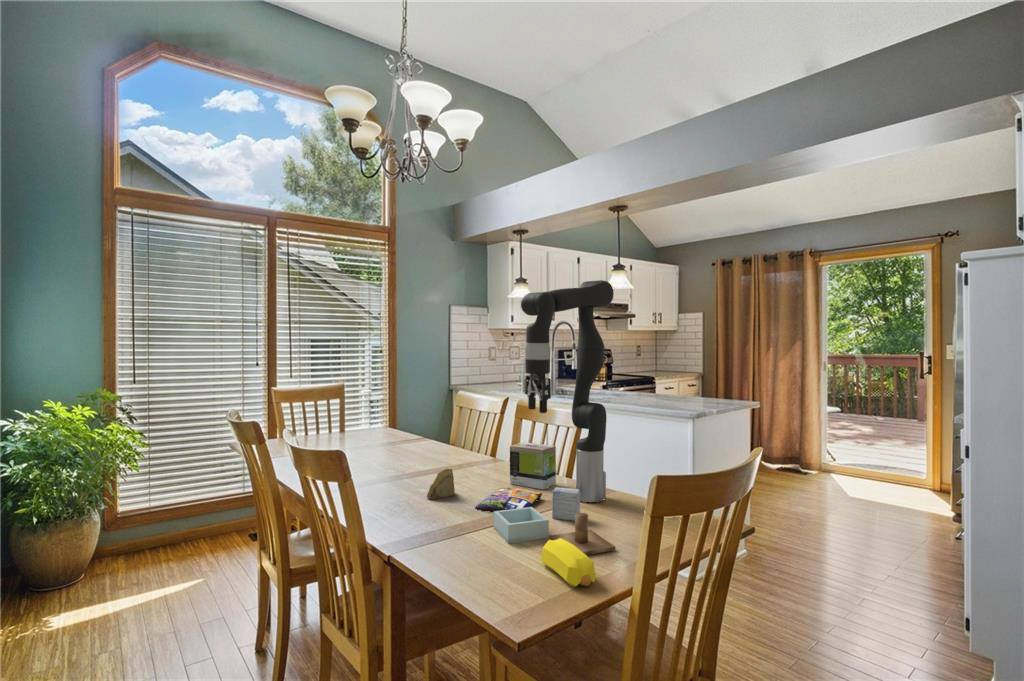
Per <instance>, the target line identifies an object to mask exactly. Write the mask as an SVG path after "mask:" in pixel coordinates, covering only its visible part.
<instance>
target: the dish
mask: <svg viewBox="0 0 1024 681" xmlns="http://www.w3.org/2000/svg"><path fill="white" fill-rule="evenodd" d="M549 522H550V520H549V519H548V518H547V517H546V516H545V515H543V514H542V513H540V512H539V511H538V510H537V509H536V508H534V507H533V506H530V507H527V508H518V509H510V510H501V511H494V513H493V530H495V532H496V533H497V534H498V535H499V536H500V537H501V538H502V539H503V540H504V541H505V542H506V543H507V544H508V545H509V544H514V543H520V542H530V541H535V540H543V539H549V536H550V535H549V533H550V532H549V530H550V526H549V524H550V523H549Z"/></svg>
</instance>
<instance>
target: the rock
mask: <svg viewBox="0 0 1024 681" xmlns="http://www.w3.org/2000/svg"><path fill="white" fill-rule="evenodd" d="M454 478H455V477H454V473H453V469H452V468H445V469H443V470H441V471H440V472H438V473H437V474H436V477H435V479H434V481H433V482H432V483H431V485H430V487H429V489H428V491H427V493H426V494H427V495H426V498H427V499H428V500H435V498H437V499H442V498H441V497H443V498H447V497H452V496H455V494H456V493H455V482H454V480H455V479H454Z"/></svg>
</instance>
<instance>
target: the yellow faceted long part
mask: <svg viewBox="0 0 1024 681" xmlns="http://www.w3.org/2000/svg"><path fill="white" fill-rule="evenodd" d="M540 557H541V558H540V562H542V563H543V564H544V565H545V567H548V568H549V569H550V570H552V571H554V572H555V573H557V574H558V575H559V576H560V577H561V578H563V580H564V581H566V583H567V584H568V585H570V586H571V587H572V588H573V587H577V586H578V585H581V586H583V587H589V586H590V585H591V584H593V583H595V580H596V579H595V578H596V570H595V569H596V568H595V564H594V561H593V560H592V558H590V557H589V555H585V554H584V553H583V552H582V551H580V550H579V549H578V548H577V547H576V546H574V545H573V544H571V543H569V542H567V541H565V540H563V539H562V538H559V539H557V540H550V539H548V541H547V542H546V543H545V544H544V546H542V552H541V556H540Z"/></svg>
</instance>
